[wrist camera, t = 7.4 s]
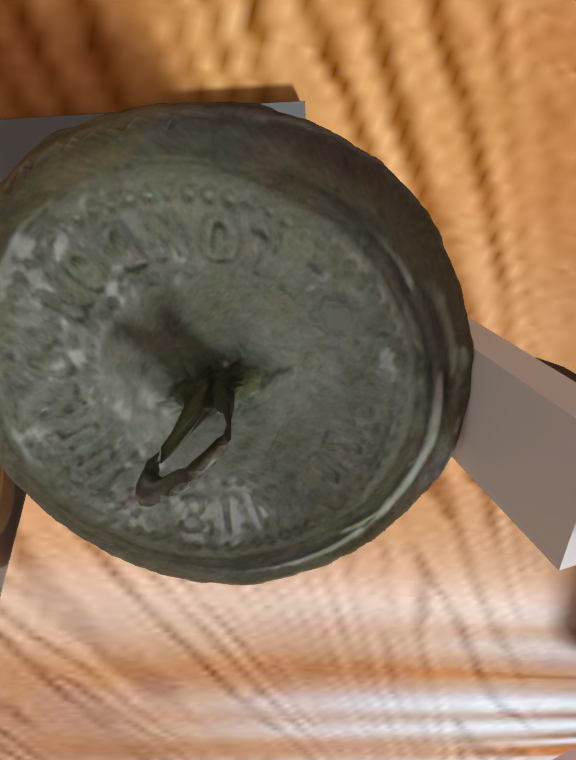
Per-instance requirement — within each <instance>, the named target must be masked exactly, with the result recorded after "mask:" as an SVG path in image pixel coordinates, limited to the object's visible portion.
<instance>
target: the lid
mask: <svg viewBox="0 0 576 760" xmlns="http://www.w3.org/2000/svg"><path fill="white" fill-rule="evenodd" d="M473 350H474V343H473V339H472V336H471V332H470V325H469V321H468V317H467V313H466V310H465V306H464V300H463V293H462V289H461V285H460V283H459V281H458V279H457V277H456V274H455V271H454V268H453V266H452V263H451V261H450V259H449V257H448V255H447V253H446V251H445V248H444V246H443V241H442V237H441V235H440V232H439V230H438V229H437V227H436V226H435V225H434V223H433V221H432V219H431V217H430V215H429V213H428V211H427V210H426V209H425V208H424V207H423V206H422V205H421V204H420V202H419V201H418V200H417V198H416V197H415V196H414V195H413V194H412V192H411V191H410V190H409V189H408V188H407V187H406V186H405V185H404V184H403V183H402V182H400V180H399V179H398V178H397V177H396V176H395V175H394V174H393V173H392V172H391V171H390V170H389V169H388V168H387V167H386V166H385V165H384V164H383V162H382V161H380V160H379V159H377V158H376V157H373V156H370V155H369V154H368V153H366V152H365V151H363V150H361V149H359V148H357V147H355V146H354V145H353V144H351V143H350V142H349V141H348V140H346V139H345V138H343V137H341V136H339V135H337V134H335V133H333V132H332V131H330V130H328V129H326V128H324V127H321V126H319V125H317V124H315V123H313V122H311V121H309V120H306V119H303V118H299V117H295V116H293V115H289V114H285V113H282V112H278V111H276V110H275V109H273V108H271V107H268V106H265V105H262V104H258V103H235V102H215V103H178V104H169V103H158V104H153V105H147V106H142V107H139V108H133V109H130V110H126V111H122V112H119V113H108V114H103V115H100V116H97V117H95V118H92V119H90V120H88V121H86V122H84V123H83V124H80V125H78V126H76V127H72V128H65V129H61V130H58V131H56V132H54V133H52V134H50V135H49V136H47V137H46V138H44V139H43V140H42V141H41V142H40V143H39V144H38V145H37V146H35V147H34V148H33V149H32V150H31V151H30V152H28V153H27V154H26V155H25V156H24V157H23V158H22V159H21V160H20V161H19V162H18V164H17V165H16V166H15V167H14V168H13V169H12V170H11V171H10V172H9V174H8V175H7V176H6V177H5V178H4V179H3V180H2V181H1V182H0V465H1V466H2V468H3V470H4V471H5V472H6V474H7V475H8V477H9V478H10V479H11V480H12V481H13V482H14V483H15V484H16V485H17V486H19V487H20V488H21V489H22V490H23V491H25V492H26V493H27V494H28V495H29V496H30V497H31V498H32V499H33V500H34V501H35V502H36V503H37V504H38V505H39V506H40V507H41V508H42V509H43V510H44V511H45V512H46V513H47V514H49V515H50V516H52V517H53V518H54V519H55V520H56V521H58V522H59V523H61V524H63V525H64V526H66V527H67V528H68V529H69V530H71V531H72V532H74V533H75V534H77V535H78V536H80V537H81V538H83V539H84V540H86V541H88V542H91V543H92V544H94V545H96V546H97V547H99V548H100V549H102V550H104V551H106V552H107V553H109V554H110V555H112V556H115V557H118V558H121V559H122V560H124V561H126V562H129V563H131V564H134V565H135V566H138V567H143V568H146V569H148V570H150V571H153V572H157V573H159V574H162V575H166V576H171V577H176V578H182V579H187V580H189V581H194V582H200V583H209V582H213V583H222V584H229V585H254V584H262V583H265V582H267V581H272V580H276V579H281V578H284V577H289V576H293V575H297V574H298V573H301V572H304V571H308V570H312V569H316V568H319V567H323V566H326V565H328V564H330V563H332V562H333V561H335V560H337V559H338V558H340V557H342V556H345V555H348V554H351V553H352V552H354V551H356V550H357V549H358V548H359V547H361V546H363V545H365V544H366V543H368V542H371V541H372V540H373V539H375V538H376V537H377V536H378V535H380V534H381V533H382V532H383V531H385V530H386V528H388V527H389V526H390V525H391V524H393V523H394V521H395V520H396V519H398V518H399V517H401V516H402V515H403V514H404V513H405V512H406V511H408V509H409V508H410V507H411V506H412V505H413V504H414V503H415V502H416V501H417V500H418V498H419V497H420V496H421V495H422V494H423V493H424V492H426V491H427V490H428V489H429V488H430V486H431V485H432V484H433V483H434V482H435V481H436V480H437V479H438V478H439V476H440V475H441V473H442V472H443V470H444V468H445V467H446V465H447V463H448V461H449V459H450V457H451V456H452V454H453V452H454V450H455V448H456V445H457V442H458V438H459V435H460V431H461V427H462V423H463V418H464V416H465V413H466V410H467V406H468V401H469V397H470V390H471V370H472V363H473V358H474V356H473Z"/></svg>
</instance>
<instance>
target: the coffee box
mask: <svg viewBox="0 0 576 760" xmlns="http://www.w3.org/2000/svg"><path fill="white" fill-rule="evenodd" d="M25 497H26V492H25V491H23V490H22V489H21V488H20V487H19V486H17V485H16V484H15V483H14V482H13V481H12V480H11V479H10V478H9V477H8V475H7V474H6V472H5V471H4V470H3V468H2V466H1V465H0V596H1V592H2V588H3V584H4V580H5V576H6V572H7V568H8V564H9V560H10V557H11V552H12V547H13V544H14V540H15V537H16V532H17V528H18V525H19V521H20V517H21V513H22V509H23V505H24V501H25Z"/></svg>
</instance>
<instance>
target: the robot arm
mask: <svg viewBox="0 0 576 760" xmlns="http://www.w3.org/2000/svg"><path fill="white" fill-rule="evenodd" d="M468 321H469V325H470V332H471V336H472V339H473V343H474V350H473V356H474V358H473V363H472V370H471V390H470V397H469V401H468V406H467V410H466V413H465V416H464V418H463V423H462V427H461V431H460V435H459V438H458V442H457V445H456V448H455V450H454V452H453V454H452V457H453V458H454V459H455V460H456V461H457V462H458V464H459V465H460V466H461V467H462V468H463V469H464V470H465V471H466V472H467V473H468V474H469V475H470V476H471V477H472V478H473V480H474V481H475V482H476V483H477V484H478V485H479V486H480V487H481V488H482V489H483V490H484V491H485V492H486V493H487V494H488V496H489V497H490V498H491V499H492V500H493V501H494V502H495V503H496V504H497V505H498V506H499V507H500V508H501V509H502V510H503V512H504V513H505V514H506V515H507V516H508V517H509V518H510V519H511V520H512V521H513V522H514V523H515V524H516V525H517V526H518V527H519V529H520V530H521V531H522V532H523V533H524V534H525V535H526V536H527V537H528V538H529V539H530V540H531V541H532V542H533V543H534V545H535V546H536V547H537V548H538V549H539V550H540V551H541V552H542V553H543V554H544V555H545V556H546V557H547V558H548V559H549V561H550V562H551V563H552V564H553V565H554V566H555V567H556V568H557V569H558V570H562V569H565V568H568V567H571V566H574V565H576V374H575V373H573V372H571V371H570V370H568V369H566V368H565V367H562V366H559V365H557V364H554V363H551V362H548V361H545V360H542V359H539V358H535V357H533V356H531V355H530V354H528V353H526V352H525V351H523V350H522V349H520V348H518V347H517V346H515V345H513V344H512V343H510V342H508V341H507V340H505V339H503V338H502V337H500V336H498V335H497V334H495V333H493V332H492V331H490V330H488V329H487V328H485V327H483V326H482V325H480V324H479V323H477V322H475V321H474V320H472V319H470V318H469V317H468Z"/></svg>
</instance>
